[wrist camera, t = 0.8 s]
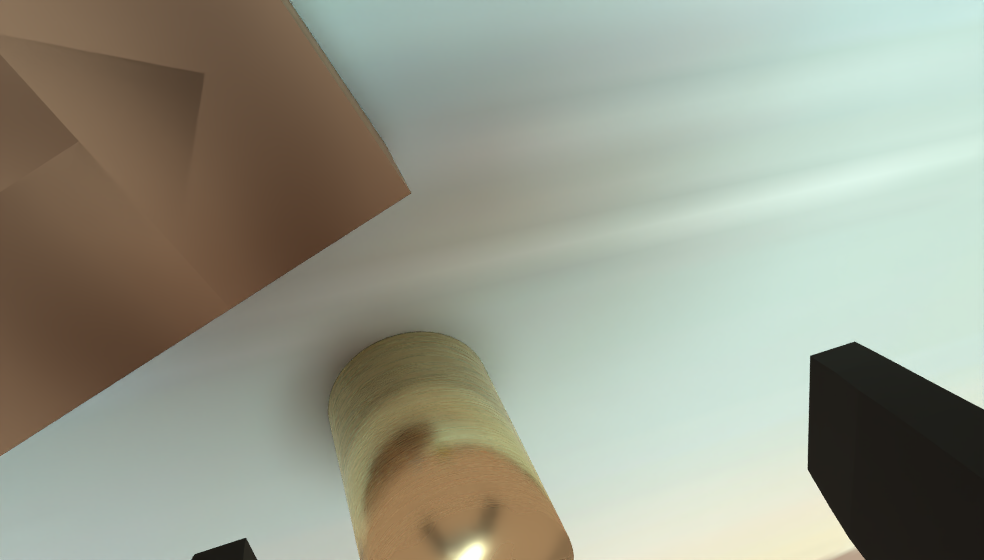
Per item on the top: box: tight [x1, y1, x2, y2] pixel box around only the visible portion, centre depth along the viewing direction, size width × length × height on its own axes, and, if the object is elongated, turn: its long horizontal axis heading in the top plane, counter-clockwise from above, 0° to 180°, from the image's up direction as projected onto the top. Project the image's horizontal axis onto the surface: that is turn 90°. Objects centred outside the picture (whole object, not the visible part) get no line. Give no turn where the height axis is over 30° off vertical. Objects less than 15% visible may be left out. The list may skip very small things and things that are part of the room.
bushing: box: [328, 332, 574, 560], centre depth 20 cm, size 4×4×6 cm
